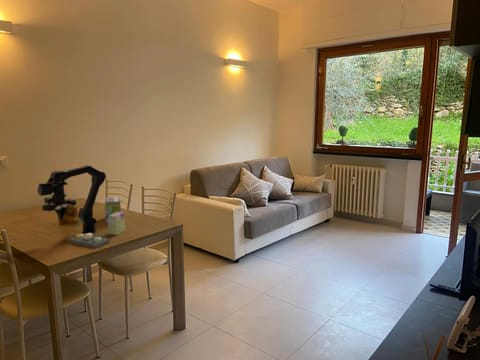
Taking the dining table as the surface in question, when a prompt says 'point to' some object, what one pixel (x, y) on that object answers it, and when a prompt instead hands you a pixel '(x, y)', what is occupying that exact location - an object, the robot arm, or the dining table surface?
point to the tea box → (112, 206)
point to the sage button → (97, 239)
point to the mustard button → (79, 236)
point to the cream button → (88, 236)
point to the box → (116, 223)
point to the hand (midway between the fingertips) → (61, 219)
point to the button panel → (88, 241)
